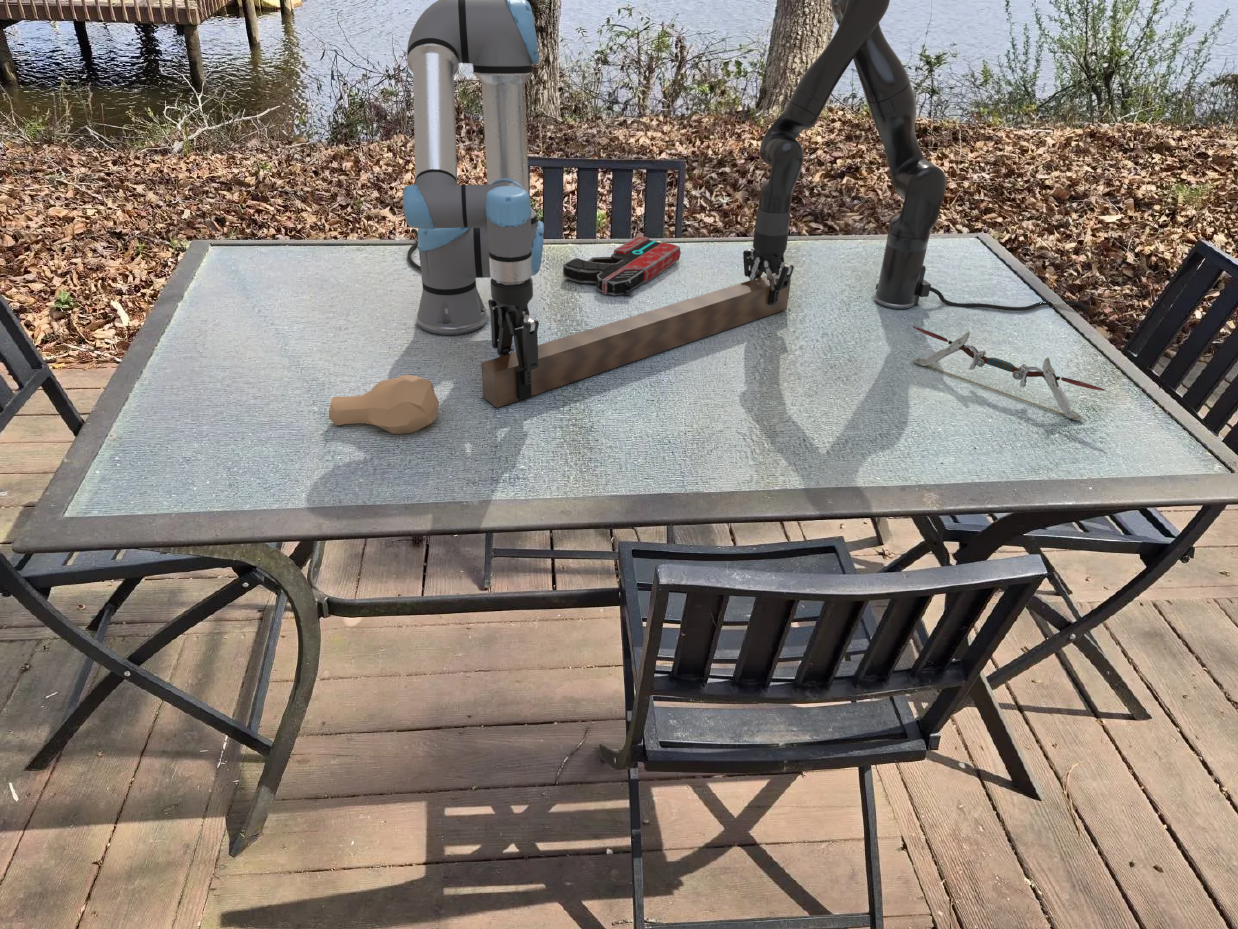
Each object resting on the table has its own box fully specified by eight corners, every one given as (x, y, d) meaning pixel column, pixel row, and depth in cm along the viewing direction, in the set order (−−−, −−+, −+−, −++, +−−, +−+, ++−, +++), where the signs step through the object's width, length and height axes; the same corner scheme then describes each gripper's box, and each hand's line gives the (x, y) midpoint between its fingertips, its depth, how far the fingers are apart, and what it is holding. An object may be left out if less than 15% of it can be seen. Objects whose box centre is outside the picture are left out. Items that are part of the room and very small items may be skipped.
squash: (439, 440, 156) (426, 401, 150) (330, 449, 157) (313, 410, 151) (448, 401, 164) (436, 363, 157) (344, 410, 165) (328, 372, 159)
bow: (1094, 423, 166) (1111, 376, 160) (1090, 426, 165) (1108, 379, 159) (907, 357, 187) (917, 313, 182) (903, 359, 186) (913, 316, 181)
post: (496, 408, 165) (494, 372, 161) (483, 397, 168) (480, 362, 164) (786, 309, 207) (791, 279, 202) (771, 302, 210) (775, 272, 206)
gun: (556, 265, 215) (624, 284, 207) (621, 228, 237) (685, 244, 229) (556, 282, 217) (623, 301, 209) (620, 244, 239) (683, 260, 231)
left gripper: (557, 289, 153) (559, 404, 166) (502, 257, 164) (507, 367, 177) (521, 299, 149) (525, 416, 162) (467, 266, 160) (475, 378, 173)
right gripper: (807, 234, 191) (797, 306, 201) (760, 216, 201) (752, 286, 210) (784, 241, 188) (774, 314, 197) (737, 222, 197) (729, 293, 206)
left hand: (516, 390), depth 170 cm, fingers closed on post, 5 cm apart
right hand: (763, 299), depth 204 cm, fingers closed on post, 5 cm apart
